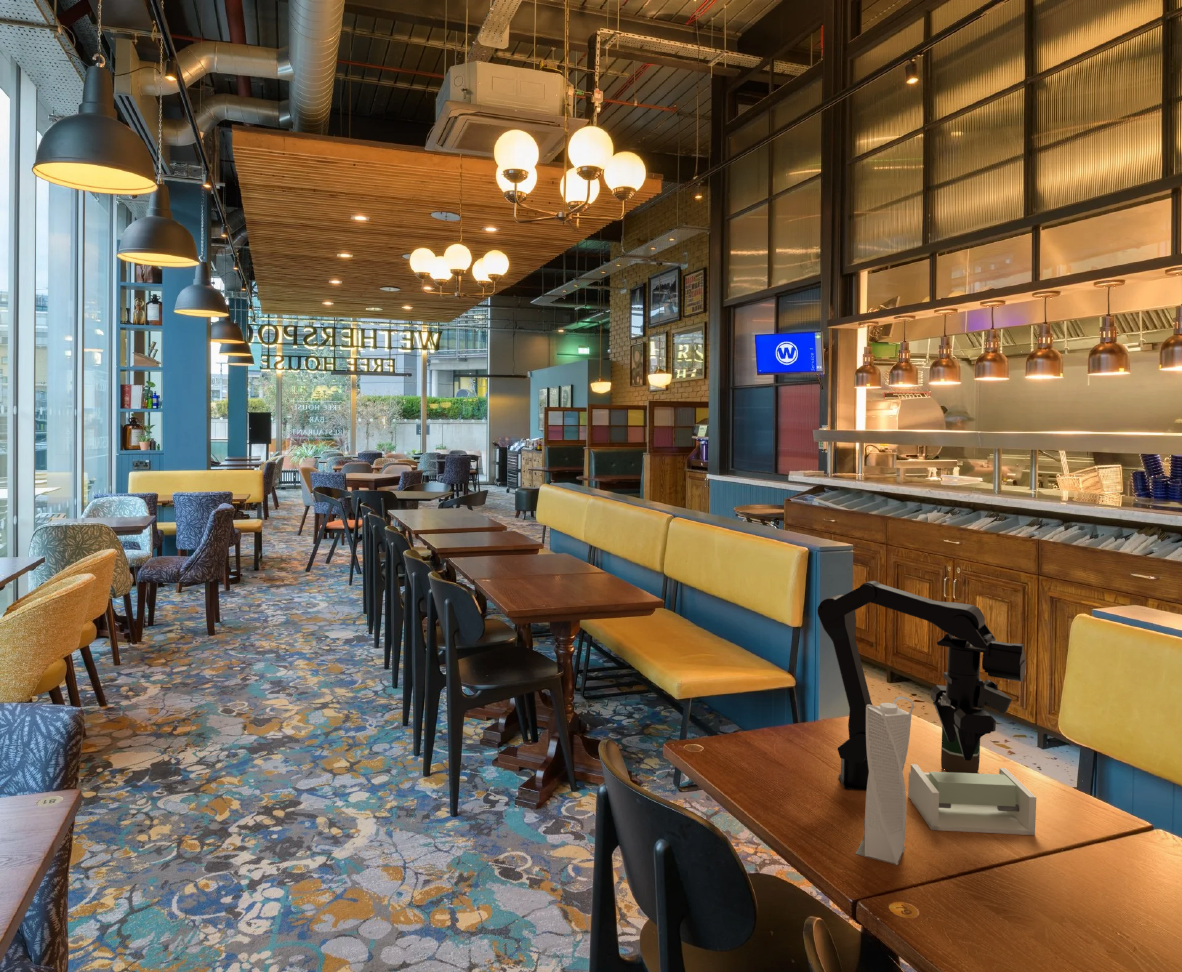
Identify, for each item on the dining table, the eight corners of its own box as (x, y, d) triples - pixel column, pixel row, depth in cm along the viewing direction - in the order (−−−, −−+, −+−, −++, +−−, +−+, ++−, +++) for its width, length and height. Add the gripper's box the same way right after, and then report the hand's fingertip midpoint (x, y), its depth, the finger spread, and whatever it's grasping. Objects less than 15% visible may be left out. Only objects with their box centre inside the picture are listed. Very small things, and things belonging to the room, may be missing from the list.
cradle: (931, 829, 149) (932, 792, 149) (908, 796, 164) (909, 761, 163) (1035, 835, 148) (1036, 797, 147) (1002, 800, 162) (1003, 766, 162)
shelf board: (937, 803, 153) (938, 782, 152) (928, 791, 158) (929, 771, 157) (1015, 806, 151) (1015, 785, 151) (1003, 794, 156) (1004, 774, 156)
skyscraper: (914, 851, 142) (918, 693, 141) (905, 872, 135) (910, 706, 134) (864, 839, 146) (868, 685, 145) (853, 858, 139) (858, 697, 138)
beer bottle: (983, 779, 172) (987, 667, 171) (944, 775, 174) (948, 664, 173) (974, 765, 180) (978, 657, 179) (936, 762, 182) (940, 655, 180)
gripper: (1028, 688, 146) (1023, 773, 147) (988, 660, 164) (985, 735, 165) (963, 685, 147) (959, 769, 148) (931, 657, 166) (928, 732, 167)
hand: (959, 750), depth 157 cm, fingers open, 9 cm apart
